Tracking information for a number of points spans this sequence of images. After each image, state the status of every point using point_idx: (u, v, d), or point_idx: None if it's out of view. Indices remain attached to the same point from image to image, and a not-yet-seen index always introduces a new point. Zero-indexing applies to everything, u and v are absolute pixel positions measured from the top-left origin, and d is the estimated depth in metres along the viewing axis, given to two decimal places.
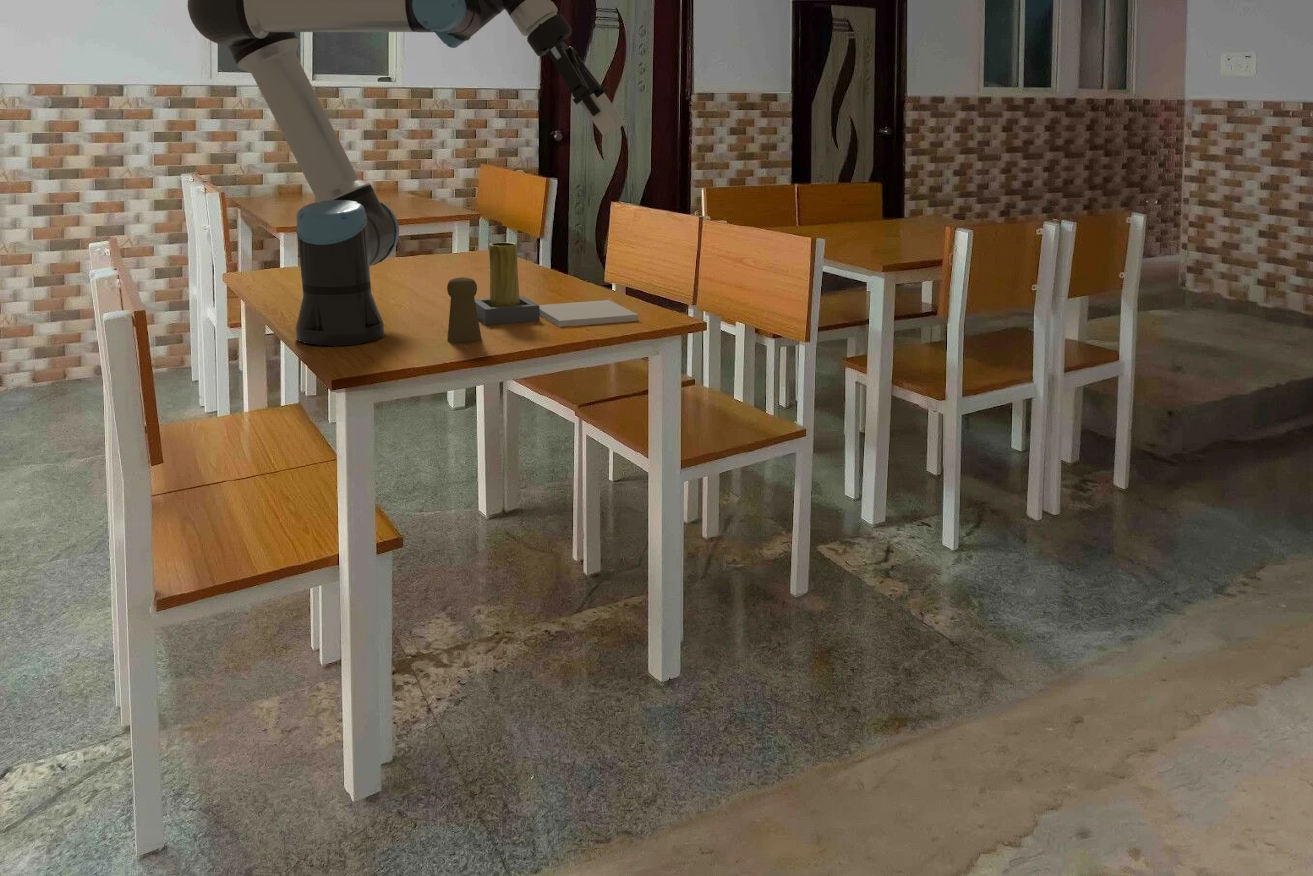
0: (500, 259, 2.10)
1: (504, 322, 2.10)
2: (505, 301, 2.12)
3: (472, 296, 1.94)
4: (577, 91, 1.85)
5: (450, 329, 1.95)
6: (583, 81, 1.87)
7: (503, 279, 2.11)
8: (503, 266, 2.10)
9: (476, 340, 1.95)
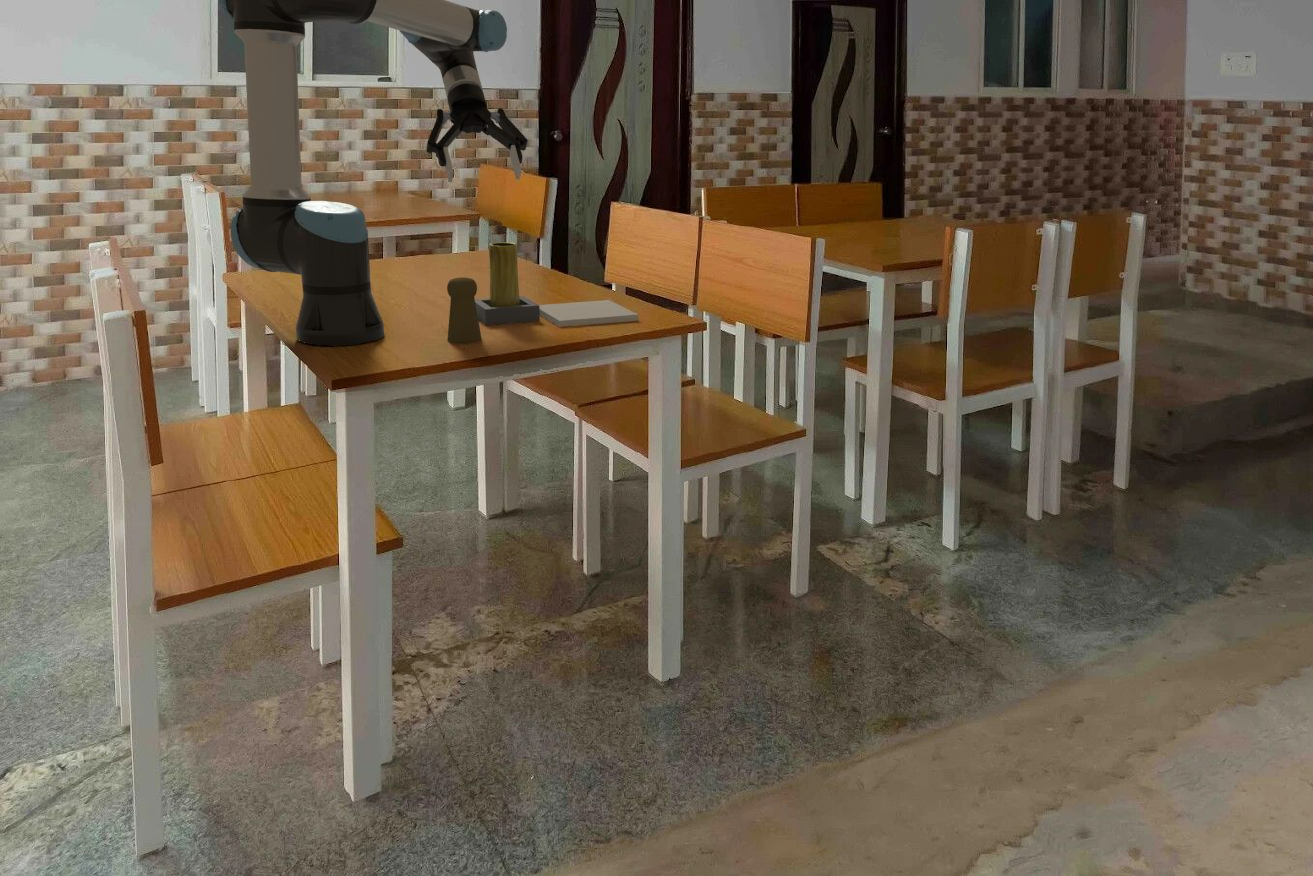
0: (500, 259, 2.10)
1: (504, 322, 2.10)
2: (505, 301, 2.12)
3: (472, 296, 1.94)
4: (526, 142, 2.25)
5: (450, 329, 1.95)
6: None
7: (503, 279, 2.11)
8: (503, 266, 2.10)
9: (476, 340, 1.95)
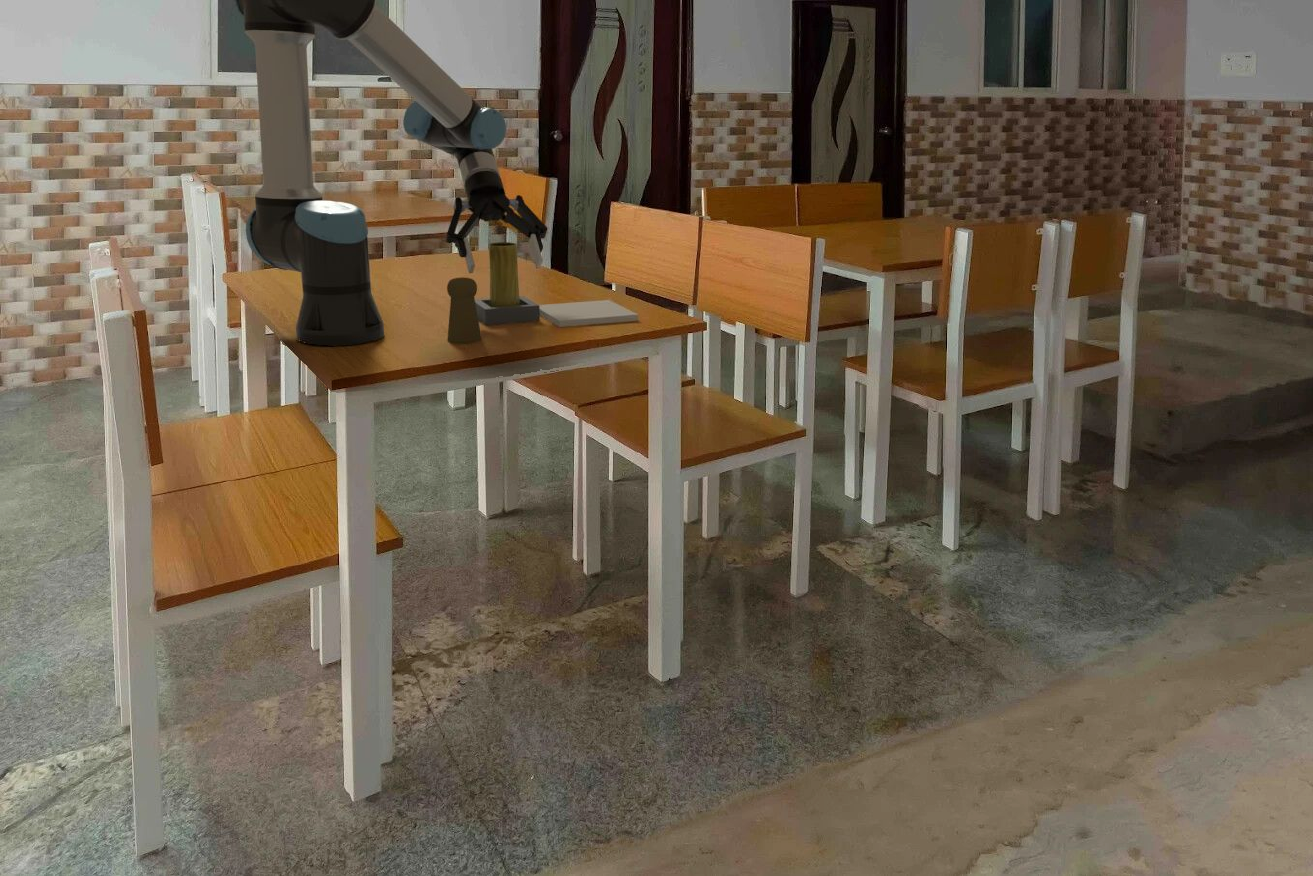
0: (500, 259, 2.10)
1: (504, 322, 2.10)
2: (505, 301, 2.12)
3: (472, 296, 1.94)
4: None
5: (450, 329, 1.95)
6: None
7: (503, 279, 2.11)
8: (503, 266, 2.10)
9: (476, 340, 1.95)
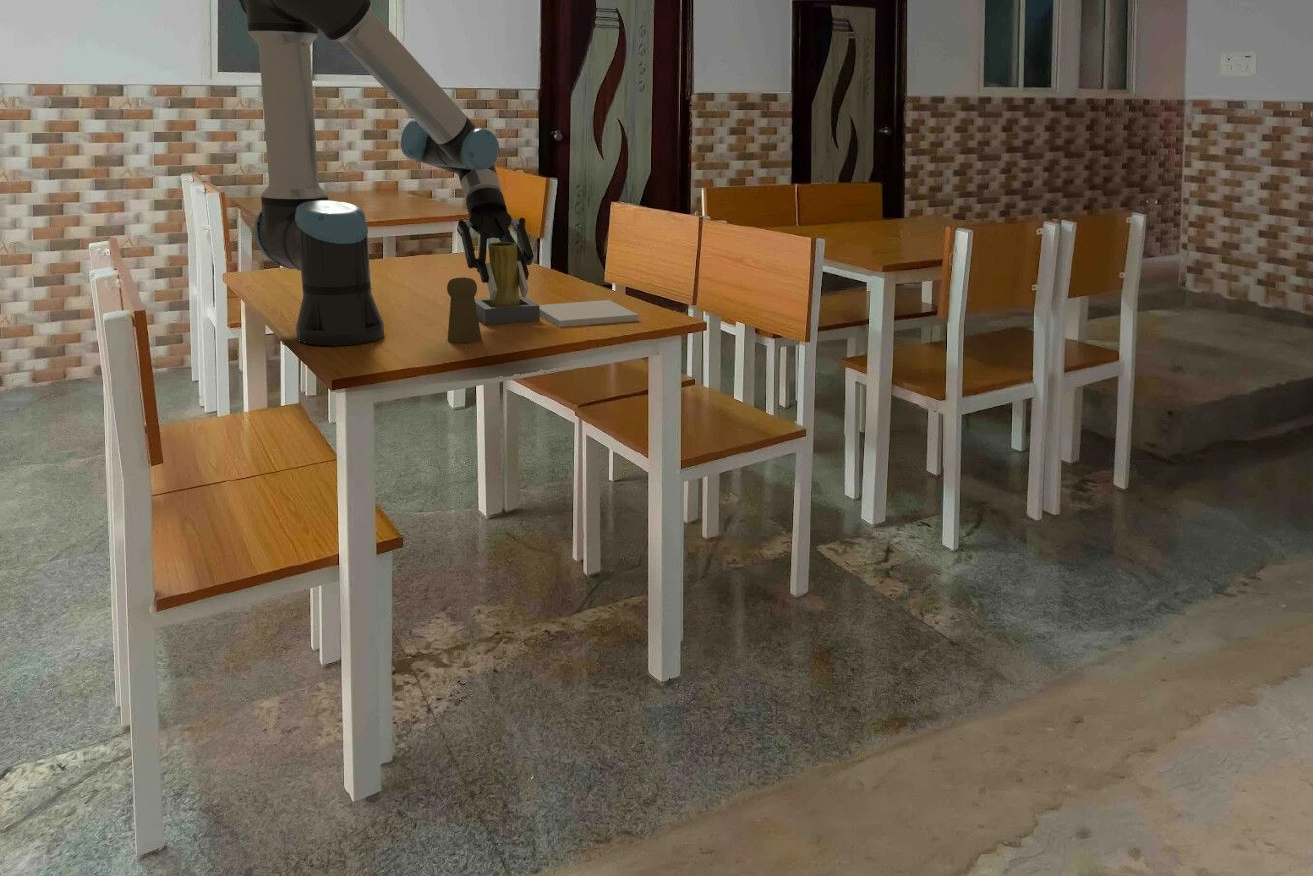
0: (500, 259, 2.09)
1: (504, 322, 2.10)
2: (505, 301, 2.12)
3: (472, 296, 1.94)
4: (532, 258, 2.16)
5: (450, 329, 1.95)
6: None
7: (503, 279, 2.11)
8: (503, 266, 2.10)
9: (476, 340, 1.95)
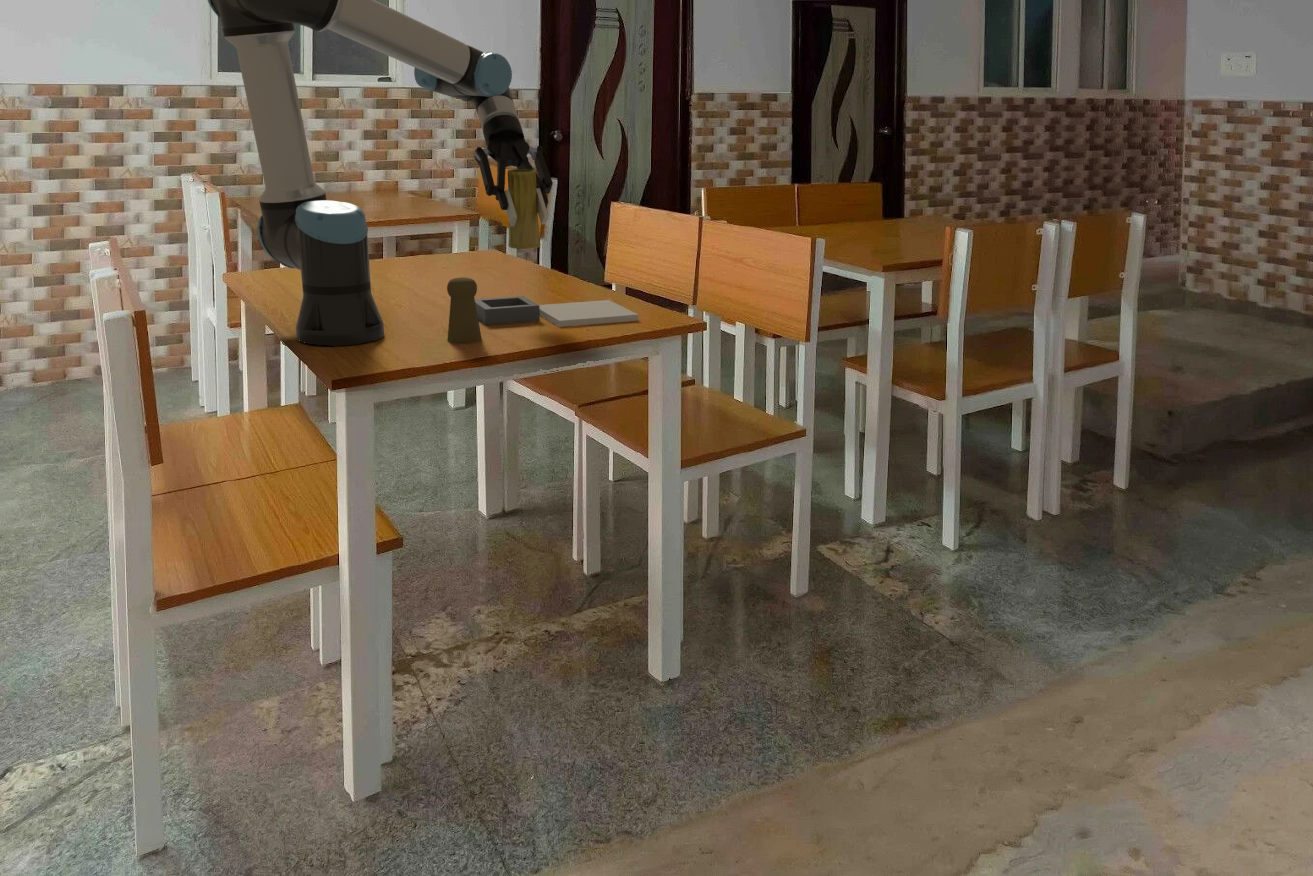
0: (519, 185, 2.07)
1: (504, 322, 2.10)
2: (524, 228, 2.09)
3: (472, 296, 1.94)
4: (551, 186, 2.13)
5: (450, 329, 1.95)
6: None
7: (522, 206, 2.08)
8: (522, 193, 2.07)
9: (476, 340, 1.95)
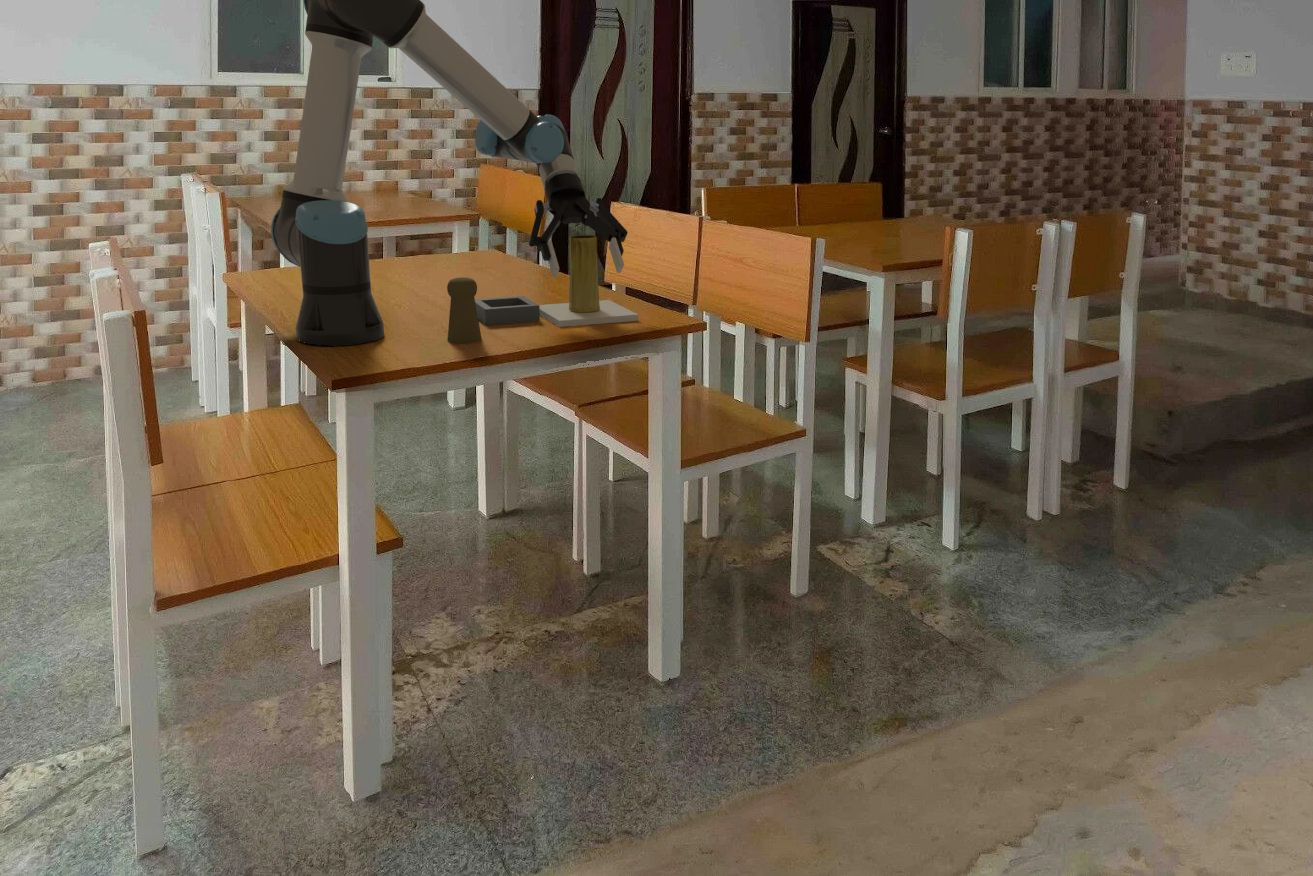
0: (581, 251, 2.11)
1: (504, 322, 2.10)
2: (585, 293, 2.14)
3: (472, 296, 1.94)
4: None
5: (450, 329, 1.95)
6: None
7: (584, 271, 2.12)
8: (584, 259, 2.12)
9: (476, 340, 1.95)
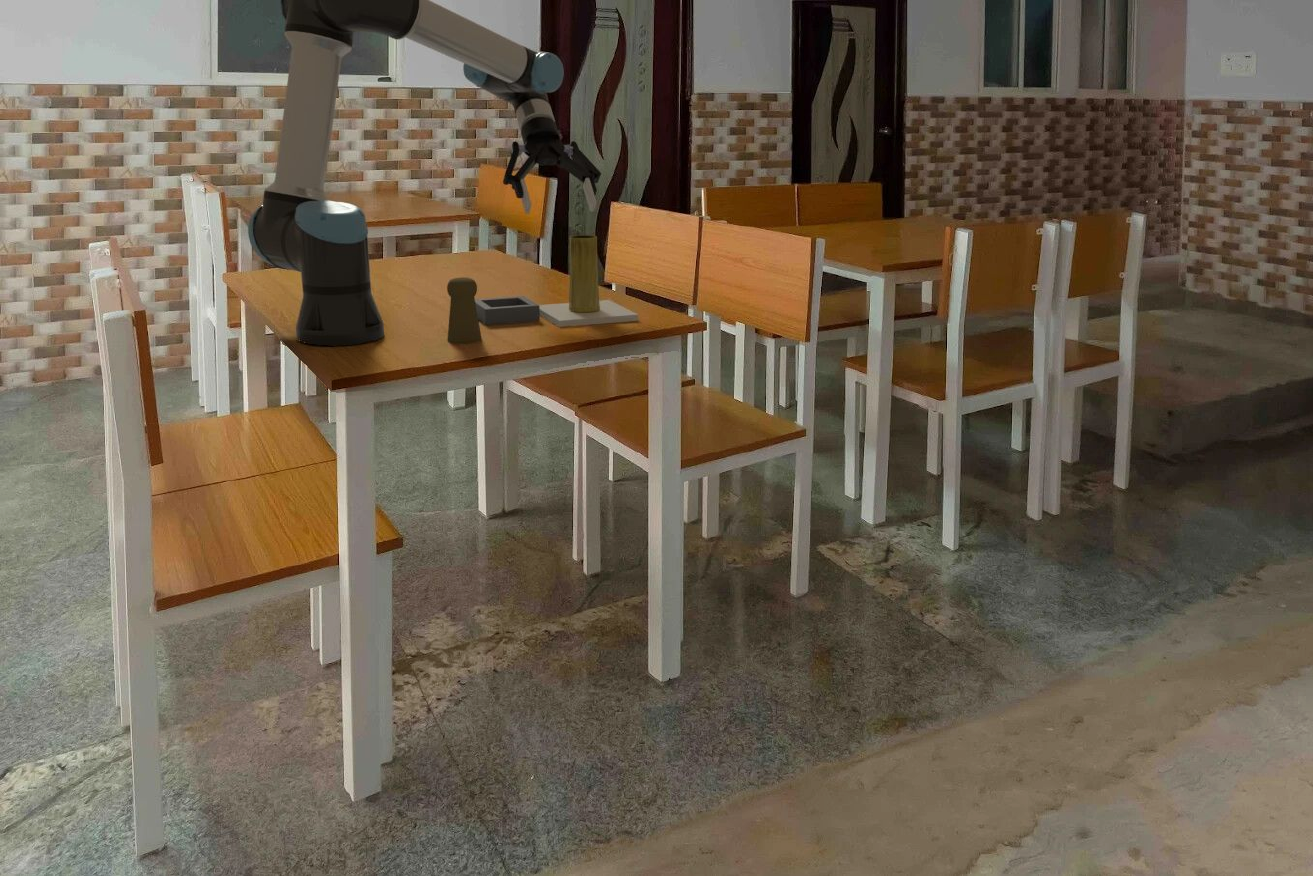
0: (581, 251, 2.11)
1: (504, 322, 2.10)
2: (585, 293, 2.14)
3: (472, 296, 1.94)
4: None
5: (450, 329, 1.95)
6: None
7: (584, 271, 2.13)
8: (584, 259, 2.12)
9: (476, 340, 1.95)
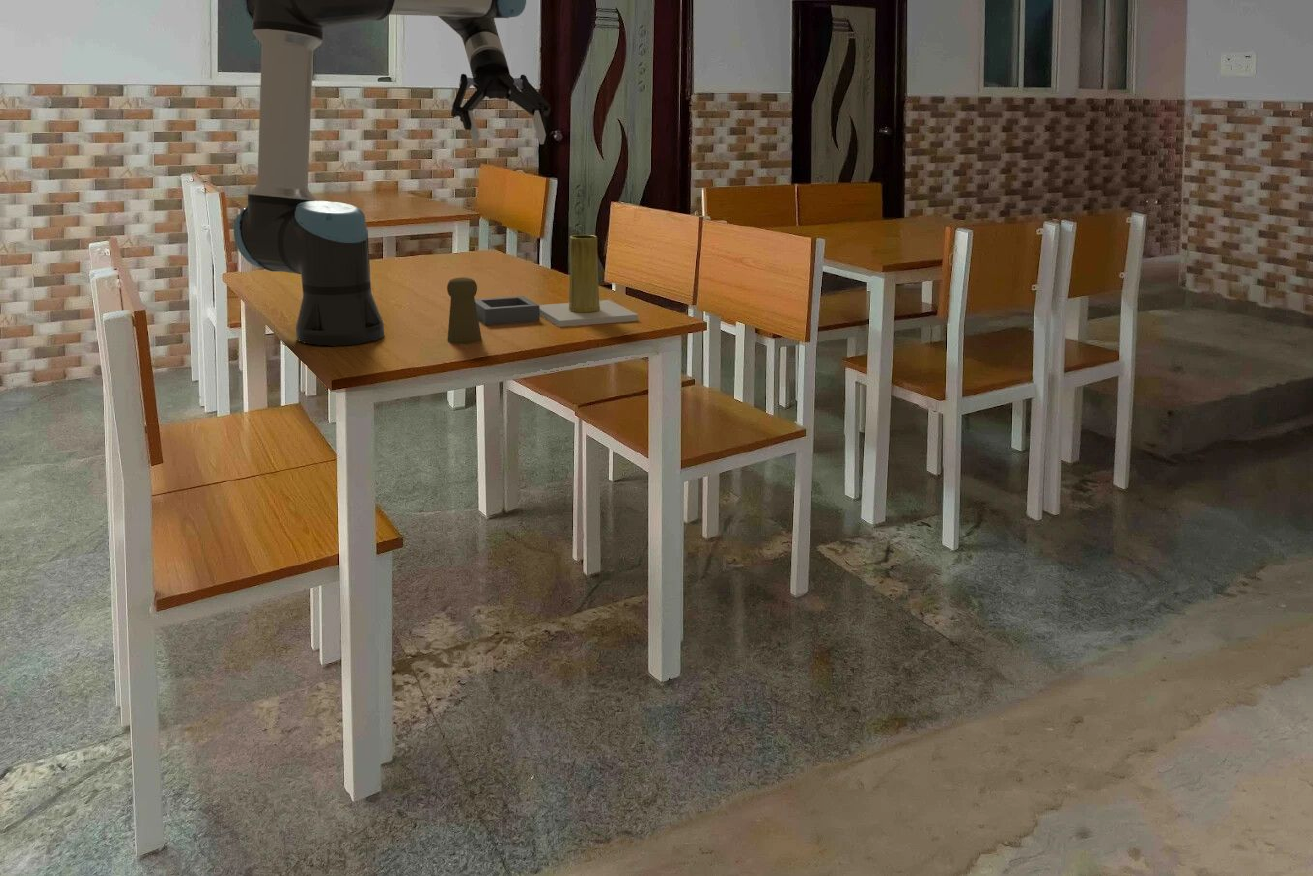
0: (581, 251, 2.11)
1: (504, 322, 2.10)
2: (585, 293, 2.14)
3: (472, 296, 1.94)
4: (549, 108, 2.27)
5: (450, 329, 1.95)
6: None
7: (584, 271, 2.13)
8: (584, 259, 2.12)
9: (476, 340, 1.95)
